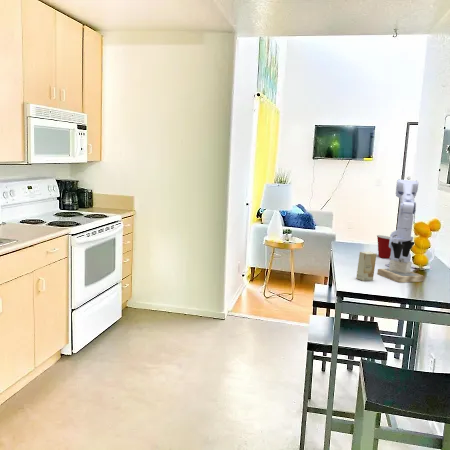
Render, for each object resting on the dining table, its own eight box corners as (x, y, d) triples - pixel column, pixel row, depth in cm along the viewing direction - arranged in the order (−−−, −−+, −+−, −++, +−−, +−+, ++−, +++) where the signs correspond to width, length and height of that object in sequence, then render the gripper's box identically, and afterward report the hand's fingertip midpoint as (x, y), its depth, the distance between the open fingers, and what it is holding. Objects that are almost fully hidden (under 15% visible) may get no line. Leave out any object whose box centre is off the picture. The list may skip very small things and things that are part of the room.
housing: (393, 269, 210) (395, 256, 209) (410, 273, 205) (412, 260, 204) (389, 270, 207) (390, 257, 206) (405, 274, 202) (407, 261, 201)
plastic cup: (398, 259, 246) (401, 238, 244) (382, 260, 242) (385, 238, 240) (385, 255, 256) (388, 234, 254) (369, 255, 252) (372, 234, 250)
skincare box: (362, 281, 195) (366, 253, 193) (355, 278, 199) (359, 251, 197) (373, 280, 198) (377, 253, 196) (366, 277, 202) (369, 251, 200)
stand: (400, 273, 215) (401, 267, 215) (423, 281, 202) (424, 275, 202) (377, 274, 210) (377, 268, 209) (399, 282, 197) (399, 276, 197)
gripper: (404, 225, 211) (400, 254, 213) (388, 227, 201) (384, 257, 204) (418, 228, 206) (414, 257, 208) (403, 230, 196) (399, 260, 198)
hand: (400, 257), depth 205 cm, fingers open, 7 cm apart
